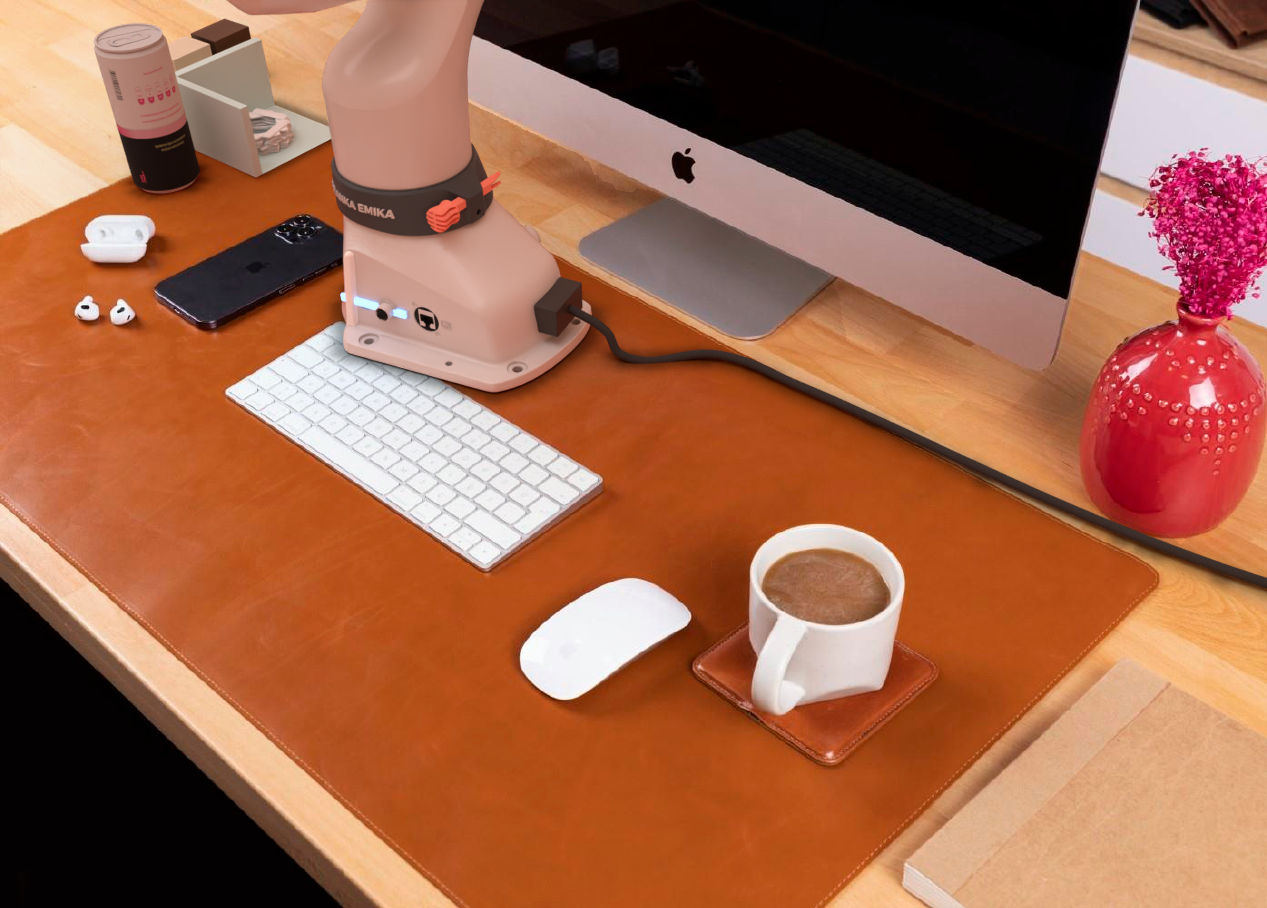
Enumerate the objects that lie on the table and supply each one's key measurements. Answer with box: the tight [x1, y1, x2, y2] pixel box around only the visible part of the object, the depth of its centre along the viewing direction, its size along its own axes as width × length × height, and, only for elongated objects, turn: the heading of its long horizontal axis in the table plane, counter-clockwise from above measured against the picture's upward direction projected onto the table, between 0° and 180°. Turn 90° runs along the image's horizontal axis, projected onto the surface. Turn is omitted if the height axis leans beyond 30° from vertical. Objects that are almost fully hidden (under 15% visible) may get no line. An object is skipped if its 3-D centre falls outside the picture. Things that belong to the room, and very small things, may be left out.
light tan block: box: [167, 35, 212, 72], centre depth 140 cm, size 4×5×6 cm
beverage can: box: [93, 22, 201, 194], centre depth 124 cm, size 7×7×15 cm
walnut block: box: [190, 18, 252, 56], centre depth 144 cm, size 4×5×6 cm
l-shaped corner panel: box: [175, 36, 331, 178], centre depth 133 cm, size 12×12×8 cm
